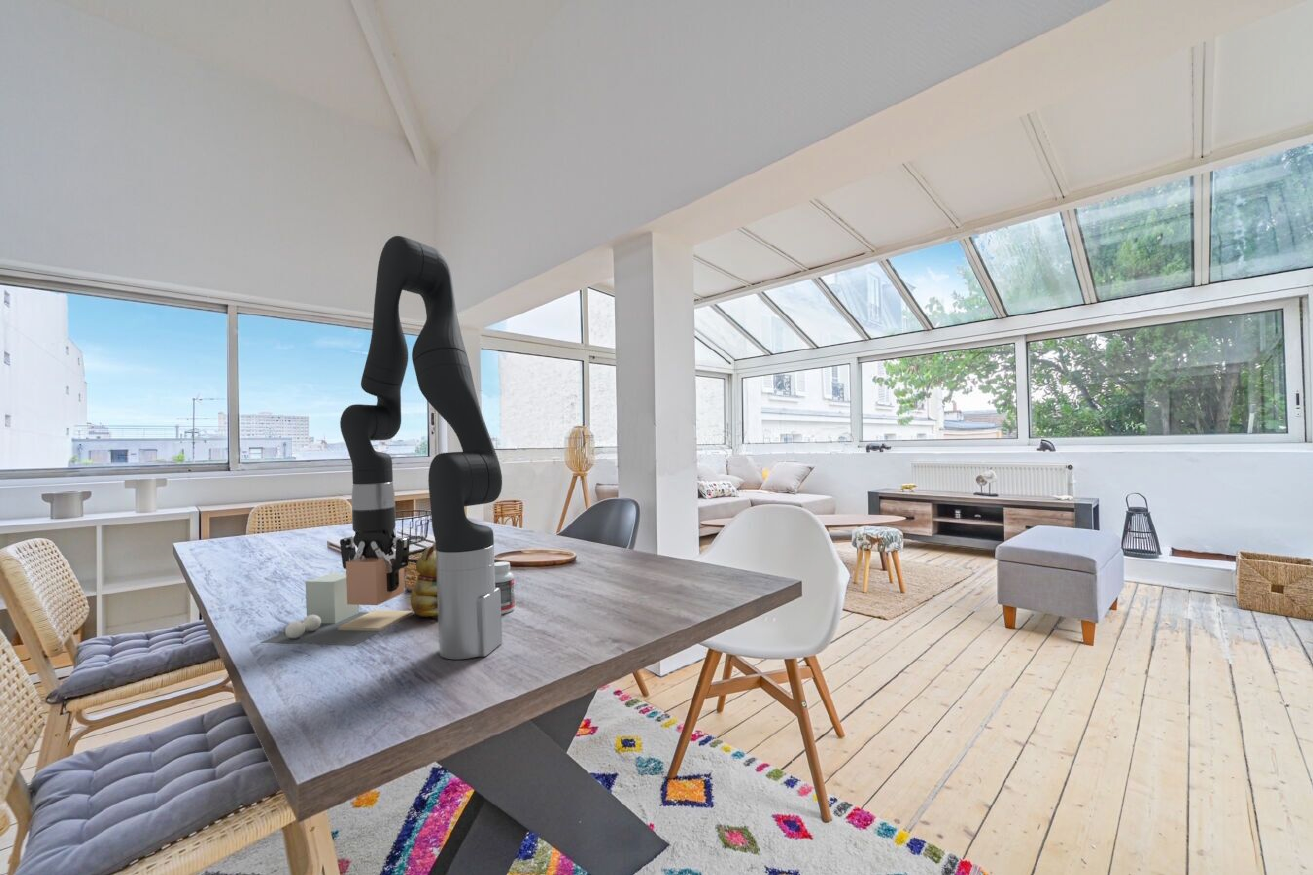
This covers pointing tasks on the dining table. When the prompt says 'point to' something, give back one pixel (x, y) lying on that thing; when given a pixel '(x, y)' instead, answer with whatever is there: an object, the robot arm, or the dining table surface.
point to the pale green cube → (329, 598)
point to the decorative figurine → (426, 585)
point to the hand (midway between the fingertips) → (376, 590)
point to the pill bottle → (505, 586)
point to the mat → (347, 629)
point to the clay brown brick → (370, 581)
